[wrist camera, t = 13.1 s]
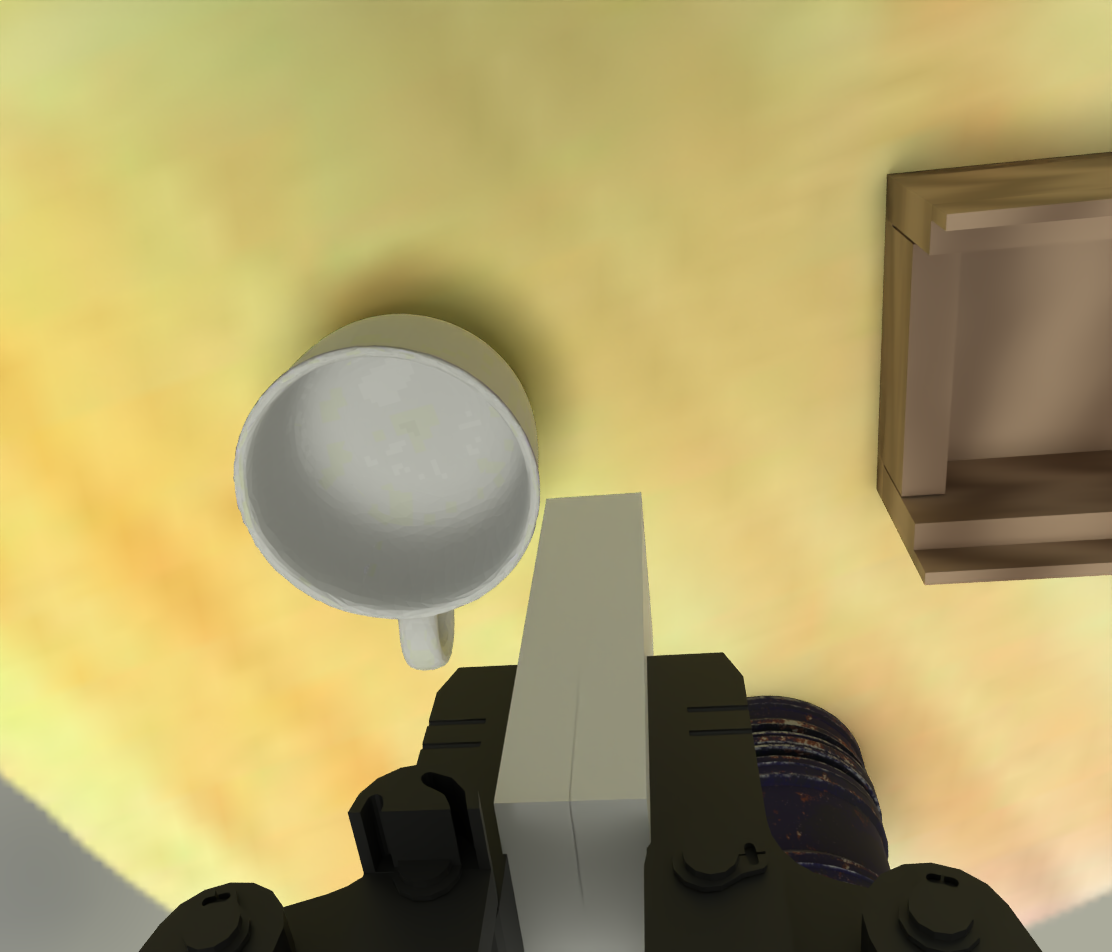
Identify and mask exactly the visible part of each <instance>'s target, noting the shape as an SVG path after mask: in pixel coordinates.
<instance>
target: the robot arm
mask: <svg viewBox="0 0 1112 952" xmlns="http://www.w3.org/2000/svg"><path fill="white" fill-rule="evenodd" d="M348 815H349V819H350V823H351V826H352V830H353V834H354V838H355V841H356V845H357V849H358V853H359V856H360V860H361V864H362V868H363V871H364V875H363V877H362V878H360V879H359V880H357V881H355V882H354V883H352V884H350V885H349V886H347V887H344V888H342V889H339V890H337V891H334V892H332V893H329V894H326V895H323V896H320V897H316V898H313V899H309V900H306V901H303V902H299V903H296V904H293V905H289V906H286V907H283V906H282V904H281V903H280V902H279V900H278V899H277V897H276V896H275V894H274V893H273V891H271V890H269V889H267V888H264V887H262V886H260V885H257V884H255V883H227V884H224V885H221V886H217V887H214V888H210V889H207V890H204V891H202V892H201V893H199V894H197V895H196V896H194V897H192V898H191V899H189V900H187V901H185V902H184V903H182V904H180V905H179V906H178V907H177V908H176V909H175V910H174V911H173V912H172V913H171V914H170V915H169V916H168V917H167V918H166V919H165V920H164V921H163V922H162V923H161V924H160V925H159V926H158V928H157V929H156V930H155V931H154V933H153V934H152V935H151V937H150V938H149V939H148V940H147V942H146V943H145V944H144V946H143V947H142V948H141V949H140V951H139V952H1042V951H1041V949H1040V948H1039V947H1038V945H1037V944H1036V943H1035V941H1034V940H1033V938H1032V937H1031V936H1030V934H1029V933H1028V931H1027V930H1026V929H1025V927H1024V926H1023V925H1022V923H1021V922H1020V920H1019V919H1018V918H1017V916H1016V915H1015V914H1014V912H1013V911H1012V909H1011V908H1010V907H1009V905H1008V904H1007V903H1006V902H1005V901H1004V900H1003V899H1002V898H1001V897H1000V896H999V895H998V894H997V893H996V892H995V891H994V890H993V889H992V888H991V887H990V886H989V885H988V884H986V883H984V882H982V881H981V880H979V879H977V878H975V877H973V876H971V875H969V874H968V873H966V872H964V871H962V870H960V869H956V868H951V867H947V866H943V865H939V864H934V863H918V864H903V865H901V866H898V867H896V868H894V869H891V870H889V871H887V872H884V873H882V874H880V876H879V877H878V878H877V879H876V880H875V881H874V882H873V884H872V885H871V886H870V887H869V888H866V887H862V886H858V885H854V884H850V883H846V882H842V881H838V880H834V879H831V878H828V877H825V876H823V875H820V874H817V873H814V872H812V871H810V870H809V869H807V868H805V867H804V866H802V865H800V864H798V863H797V862H795V861H794V860H793V859H792V858H791V857H790V856H788V855H787V854H786V853H785V852H784V851H783V850H782V849H781V848H780V846H779V845H778V843H777V842H776V841H775V839H774V838H773V836H772V834H771V831H770V828H769V825H768V822H767V819H766V812H765V806H764V800H763V794H762V788H761V782H760V776H759V770H758V764H757V758H756V752H755V746H754V739H753V734H752V727H751V721H750V715H749V710H748V703H747V697H746V691H745V685H744V679H743V676H742V674H741V673H740V672H739V671H738V670H737V668H736V667H735V666H734V665H733V664H732V663H731V661H730V660H729V659H728V658H727V657H726V655H725V654H724V653H723V652H722V653H702V654H681V655H660V656H653V632H652V620H651V608H650V595H649V583H648V571H647V559H646V546H645V534H644V522H643V509H642V497H641V492H640V493H625V494H610V495H595V496H580V497H565V498H550V499H546V505H545V510H544V516H543V522H542V528H541V533H540V539H539V545H538V551H537V556H536V562H535V568H534V574H533V579H532V585H531V591H530V597H529V603H528V608H527V614H526V620H525V626H524V631H523V637H522V643H521V649H520V654H519V660H518V665H505V666H484V667H463V668H458V669H457V670H456V672H455V673H454V674H453V675H452V676H451V677H450V678H449V680H448V681H447V682H446V683H445V684H444V685H443V686H442V688H441V689H440V690H439V691H438V692H437V694H436V698H435V701H434V705H433V708H432V712H431V715H430V719H429V726H427V729H426V733H425V736H424V740H423V749H422V750H421V751H420V754H419V758H418V761H417V765H414V766H408V767H403V768H399V769H397V770H395V771H393V772H391V773H389V774H386V775H384V776H382V777H380V778H378V779H376V780H375V781H374V782H373V783H372V784H370V785H369V786H368V787H367V788H366V789H365V790H363V791H362V792H361V793H360V794H359V795H358V797H357V798H356V800H355V802H354V803H353V805H352V807H351V808H350V810H349V812H348Z"/></svg>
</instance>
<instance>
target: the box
mask: <svg viewBox="0 0 1112 952" xmlns="http://www.w3.org/2000/svg"><path fill="white" fill-rule="evenodd" d="M877 491H878V493H879V495H880V497H881V499H882V501H883V503H884V505H885V507H886V509H887V511H888V513H889V515H890V517H891V519H892V521H893V523H894V525H895V527H896V529H897V531H898V533H899V535H900V537H901V539H902V541H903V543H904V545H905V547H906V549H907V551H908V553H909V555H910V557H911V559H912V561H913V563H914V565H915V567H916V569H917V571H918V573H919V575H920V577H921V579H922V581H923V583H924V585H934V584H952V583H971V582H989V581H1008V580H1026V579H1044V578H1063V577H1081V576H1099V575H1112V152H1106V153H1096V154H1086V155H1076V156H1066V157H1056V158H1046V159H1036V160H1026V161H1016V162H1006V163H996V164H986V165H976V166H966V167H956V168H946V169H936V170H926V171H916V172H906V173H896V174H887V197H886V227H885V257H884V286H883V316H882V346H881V376H880V405H879V435H878V465H877Z"/></svg>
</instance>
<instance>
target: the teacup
mask: <svg viewBox="0 0 1112 952" xmlns="http://www.w3.org/2000/svg"><path fill="white" fill-rule="evenodd" d="M234 482H235V492H236V498H237V504H238V508H239V510H240V512H241V515H242V519H243V523H244V524H245V525H246V526H247V528H248V530H249V533H250V535H251V536H252V538H253V540H254V543H255V545H256V546H257V547H258V548H259V550H260V552H261V553H262V554H263V556H264V557H265V558H266V560H267V561H268V562H269V563H270V565H271V566H272V567H273V568H274V569H275V570H276V571H277V572H278V573H279V574H281V575H282V576H283V577H284V578H285V579H287V580H288V581H289V582H290V583H292V584H293V585H294V586H295V587H296V588H298V589H299V590H301V591H303V592H304V593H306V594H307V595H309V596H311V597H312V598H314V599H315V600H318V601H321V602H323V603H325V604H327V605H329V606H331V607H334V608H337V609H340V610H343V611H346V612H350V613H354V614H358V615H364V616H370V617H376V618H386V619H398V622H399V632H400V642H401V648H402V652H403V655H404V658H405V660H406V662H407V664H408V665H409V666H410V667H412V668H414V669H417V670H433V669H437V668H440V667H442V666H444V665H445V664H446V663H447V662H448V660H449V658H450V656H451V654H452V647H453V640H454V609H455V608H458V607H460V606H463V605H466V604H468V603H470V602H472V601H474V600H477V599H479V598H480V597H482V596H483V595H484V594H486V593H487V592H489V591H490V590H492V589H493V588H494V587H496V586H497V585H498V584H499V583H500V582H501V581H502V580H503V579H504V578H505V577H506V576H507V575H509V573H510V572H511V571H512V570H513V569H514V567H515V566H516V565H517V563H518V562H519V560H520V559H521V557H522V556H523V554H524V552H525V551H526V549H527V547H528V545H529V543H530V540H531V538H532V536H533V533H534V530H535V525H536V520H537V517H538V512H539V504H540V482H539V471H538V439H537V430H536V423H535V419H534V415H533V411H532V408H531V405H530V403H529V400H528V397H527V394H526V392H525V390H524V388H523V386H522V385H521V383H520V381H519V379H518V378H517V376H516V375H515V373H514V372H513V370H512V369H511V368H510V366H509V365H508V364H507V363H506V362H505V360H504V359H503V358H502V357H501V356H500V355H499V354H498V353H497V352H496V351H495V350H494V349H493V348H491V347H490V346H489V345H488V344H487V343H485V342H484V341H483V340H481V339H480V338H478V337H476V336H475V335H473V334H472V333H470V332H468V331H466V330H464V329H462V328H460V327H458V326H456V325H454V324H451V323H449V322H446V321H443V320H439V319H436V318H432V317H428V316H421V315H412V314H389V315H380V316H374V317H370V318H365V319H362V320H359V321H356V322H353V323H351V324H348V325H346V326H344V327H342V328H340V329H338V330H336V331H334V332H333V333H331V334H329V335H327V336H326V337H324V338H323V339H321V340H320V341H319V342H318V343H316V344H315V345H314V346H313V347H312V348H310V349H309V350H308V351H307V352H306V353H305V354H304V355H303V356H302V357H301V358H300V359H299V360H298V361H296V362H295V363H294V364H293V366H292V367H291V368H290V369H289V370H288V371H286V372H285V373H284V374H282V375H281V376H280V377H279V378H278V379H277V380H276V381H275V382H274V383H273V384H272V385H271V386H270V387H269V388H268V389H267V390H266V391H265V392H264V393H263V394H262V396H261V397H260V399H259V400H258V401H257V403H256V404H255V406H254V407H253V409H252V410H251V412H250V414H249V416H248V417H247V419H246V422H245V424H244V426H243V429H242V431H241V434H240V436H239V440H238V444H237V447H236V455H235V462H234Z"/></svg>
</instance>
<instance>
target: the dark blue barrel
mask: <svg viewBox="0 0 1112 952" xmlns="http://www.w3.org/2000/svg"><path fill="white" fill-rule="evenodd" d="M747 703H748V710H749V715H750V721H751V727H752V734H753V739H754V746H755V752H756V758H757V764H758V770H759V776H760V782H761V788H762V794H763V800H764V806H765V812H766V819H767V822H768V825H769V828H770V831H771V834H772V836H773V838H774V839H775V841H776V842H777V843H778V845H779V846H780V848H781V849H782V850H783V851H784V852H785V853H786V854H787V855H788V856H790V857H791V858H792V859H793V860H794V861H795V862H797V863H798V864H800V865H802V866H804V867H805V868H807V869H809V870H810V871H812V872H814V873H817V874H820V875H823V876H825V877H828V878H831V879H834V880H838V881H842V882H846V883H850V884H854V885H858V886H862V887H866V888H869V887H870V886H871V885H872V884H873V882H874V881H875V880H876V879H877V878H878V877H879V876H880V874H882V873H884V872H887V871H889V870H890V866H889V863H888V841H887V838H886V834H885V831H884V827H883V824H882V813H881V810H880V806H879V803H878V799H877V796H876V793H875V790H874V786H873V784H872V782H871V780H870V778H869V776H868V774H867V772H866V769H865V766H864V762H863V759H862V755H861V752H860V749H859V746H858V744H857V742H856V740H855V738H854V736H853V735H852V734H851V732H850V731H849V730H848V729H847V727H846V726H845V725H844V724H843V723H842V722H840V721H839V720H838V719H837V718H836V717H835V716H833V715H832V714H830V713H828V712H827V711H825V710H824V709H822V708H820V707H817V706H815V705H813V704H811V703H808V702H804V701H801V700H797V699H793V698H787V697H780V696H757V697H747Z"/></svg>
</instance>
